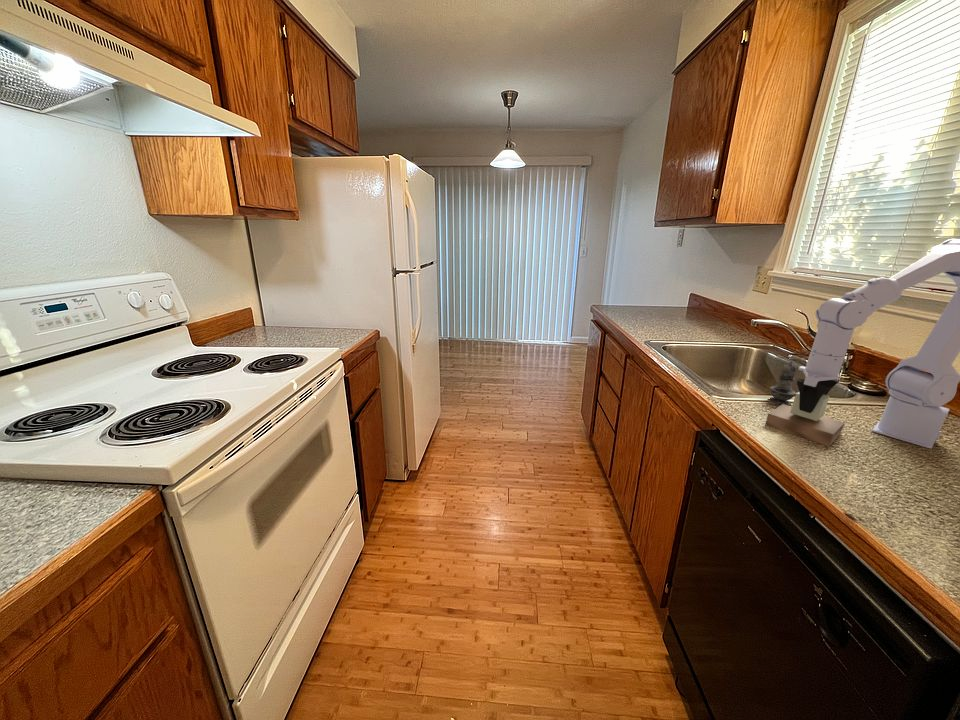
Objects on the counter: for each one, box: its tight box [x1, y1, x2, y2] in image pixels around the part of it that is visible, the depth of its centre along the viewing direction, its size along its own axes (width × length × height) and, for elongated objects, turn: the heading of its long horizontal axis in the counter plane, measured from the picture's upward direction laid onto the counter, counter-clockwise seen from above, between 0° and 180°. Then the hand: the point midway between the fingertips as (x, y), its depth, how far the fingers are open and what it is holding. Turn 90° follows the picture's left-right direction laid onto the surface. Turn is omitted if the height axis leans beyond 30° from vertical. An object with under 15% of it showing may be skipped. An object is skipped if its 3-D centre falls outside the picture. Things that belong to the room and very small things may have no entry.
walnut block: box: [764, 404, 845, 447], centre depth 90 cm, size 12×10×3 cm
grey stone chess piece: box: [767, 361, 797, 407], centre depth 104 cm, size 6×6×12 cm
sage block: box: [790, 391, 831, 421], centre depth 88 cm, size 5×5×5 cm
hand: (809, 408), depth 89 cm, fingers closed on sage block, 5 cm apart
